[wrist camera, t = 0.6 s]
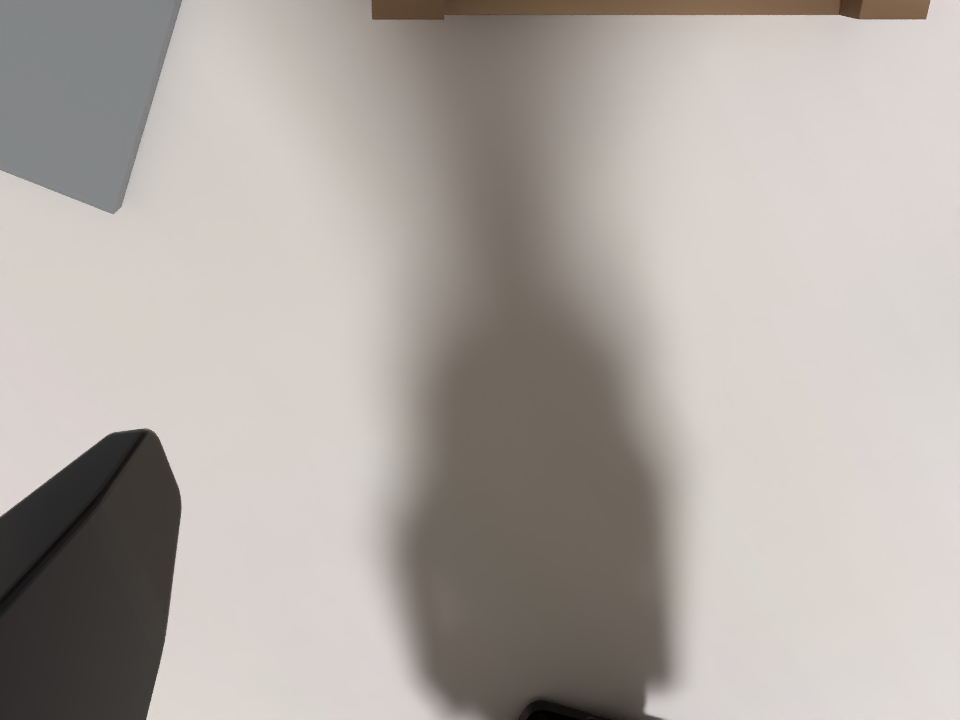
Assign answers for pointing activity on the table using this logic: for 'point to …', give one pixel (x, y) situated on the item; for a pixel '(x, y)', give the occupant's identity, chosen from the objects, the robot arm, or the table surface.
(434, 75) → the table surface
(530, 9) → the brown square frame
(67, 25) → the coaster
